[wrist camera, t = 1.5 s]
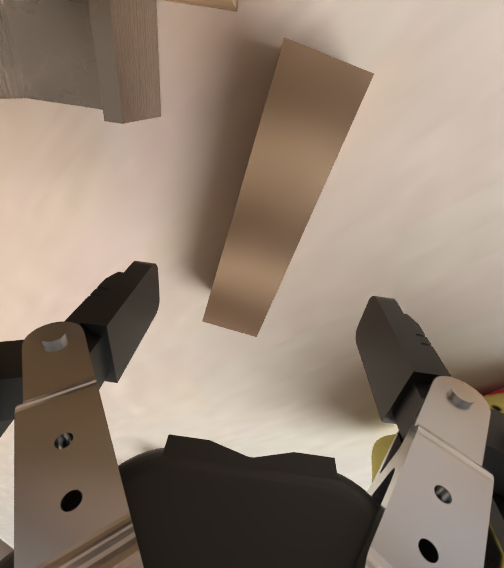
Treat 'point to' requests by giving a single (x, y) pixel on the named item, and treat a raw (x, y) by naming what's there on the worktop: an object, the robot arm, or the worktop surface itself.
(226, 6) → the wooden angled panel
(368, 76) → the rail
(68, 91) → the bracket
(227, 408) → the worktop surface
